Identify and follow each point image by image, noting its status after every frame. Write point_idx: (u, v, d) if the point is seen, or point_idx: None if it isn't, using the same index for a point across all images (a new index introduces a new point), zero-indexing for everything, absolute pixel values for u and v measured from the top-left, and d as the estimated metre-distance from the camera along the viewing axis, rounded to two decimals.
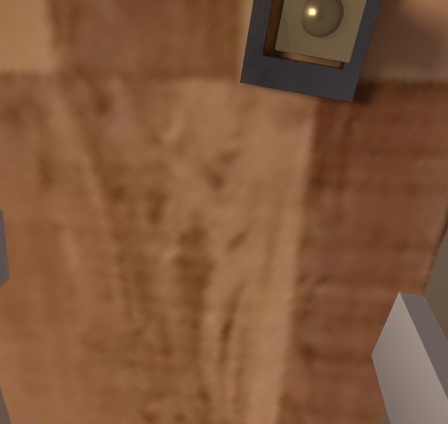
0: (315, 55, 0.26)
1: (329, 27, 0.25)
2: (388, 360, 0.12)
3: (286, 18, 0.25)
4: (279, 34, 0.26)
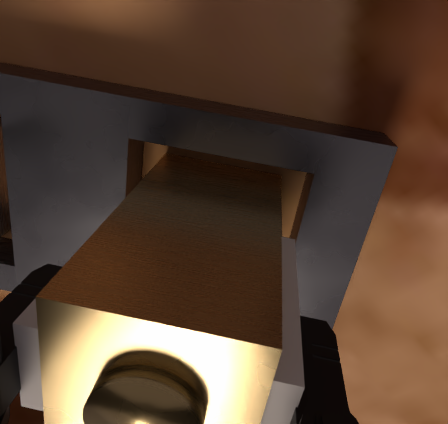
0: None
1: (173, 415, 0.08)
2: None
3: None
4: None
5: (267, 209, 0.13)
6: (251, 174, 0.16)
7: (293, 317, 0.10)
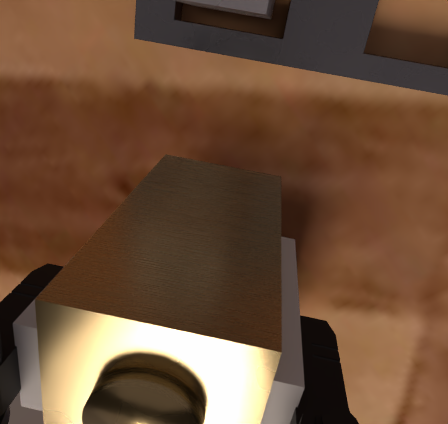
0: None
1: (173, 417, 0.08)
2: None
3: None
4: None
5: (266, 211, 0.13)
6: (251, 175, 0.16)
7: (293, 317, 0.10)
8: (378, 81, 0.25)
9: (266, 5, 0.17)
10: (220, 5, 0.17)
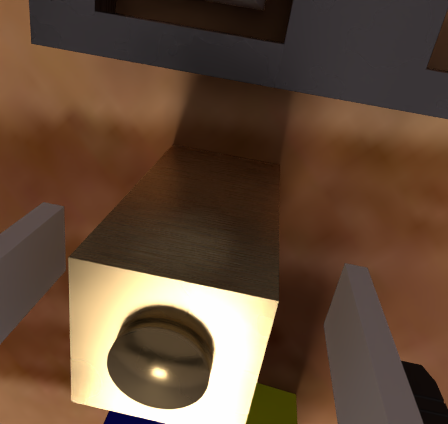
0: (256, 371, 0.10)
1: (185, 359, 0.09)
2: (334, 326, 0.13)
3: (174, 416, 0.11)
4: None
5: (266, 193, 0.15)
6: (252, 163, 0.18)
7: (396, 366, 0.09)
8: None
9: None
10: None
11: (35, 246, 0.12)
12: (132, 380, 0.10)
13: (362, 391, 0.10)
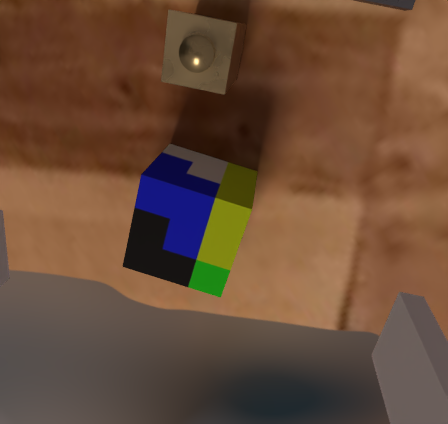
0: (230, 56, 0.29)
1: (206, 46, 0.28)
2: (388, 360, 0.12)
3: (200, 84, 0.30)
4: (212, 90, 0.30)
5: None
6: (233, 21, 0.36)
7: None
8: None
9: None
10: None
11: None
12: (187, 59, 0.29)
13: None
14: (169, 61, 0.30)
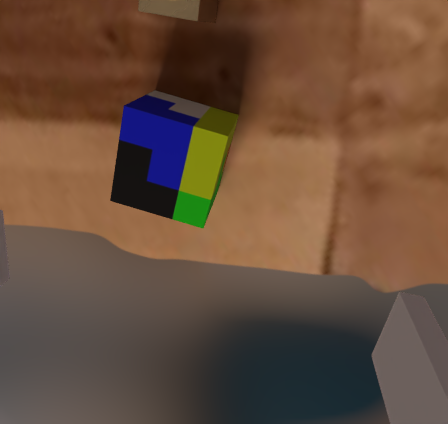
0: None
1: None
2: (388, 360, 0.12)
3: (174, 12, 0.32)
4: (186, 17, 0.32)
5: None
6: None
7: None
8: None
9: None
10: None
11: None
12: None
13: None
14: None
